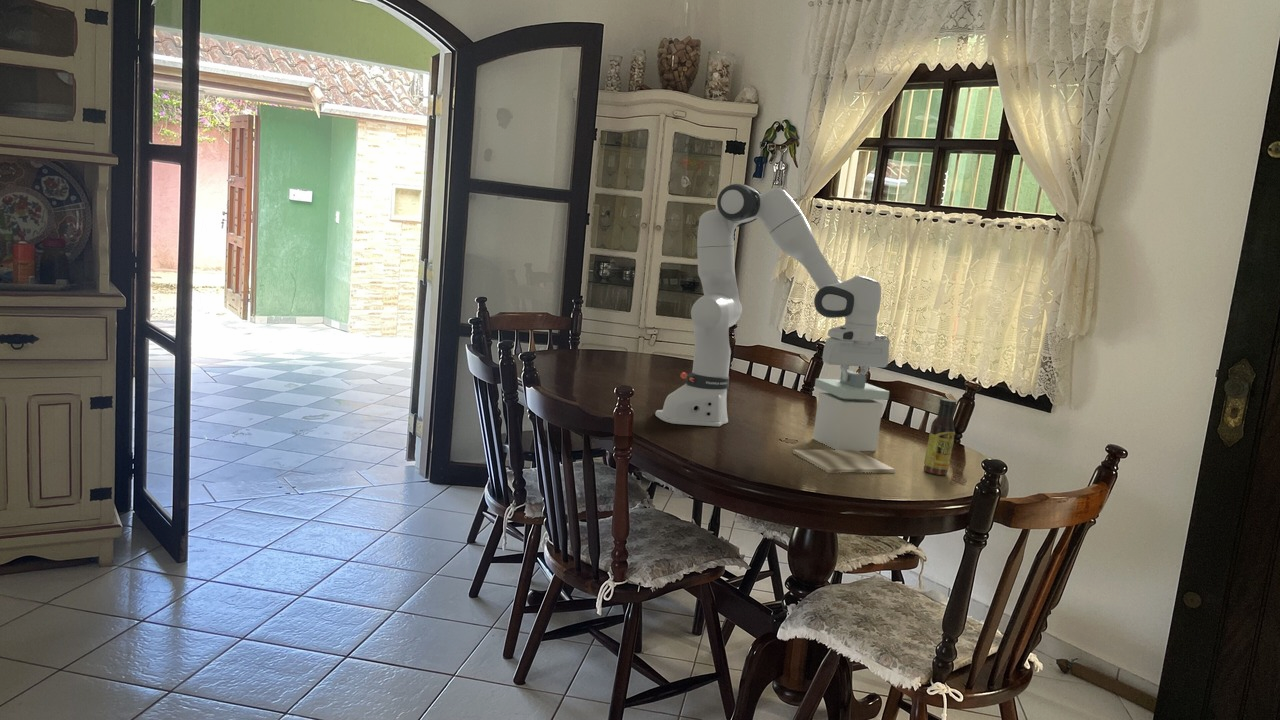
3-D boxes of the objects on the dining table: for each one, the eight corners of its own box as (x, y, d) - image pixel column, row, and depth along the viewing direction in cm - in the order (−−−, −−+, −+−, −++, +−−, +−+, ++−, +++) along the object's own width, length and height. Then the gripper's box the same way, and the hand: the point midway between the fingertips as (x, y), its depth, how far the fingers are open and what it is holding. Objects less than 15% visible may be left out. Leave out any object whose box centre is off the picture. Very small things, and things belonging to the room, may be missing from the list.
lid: (842, 398, 235) (845, 377, 234) (814, 386, 249) (817, 366, 248) (888, 400, 240) (891, 379, 239) (858, 388, 254) (861, 369, 253)
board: (828, 473, 214) (828, 469, 214) (793, 453, 231) (793, 449, 231) (894, 472, 221) (895, 469, 221) (855, 453, 238) (856, 450, 238)
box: (836, 450, 238) (843, 402, 236) (812, 438, 250) (819, 392, 248) (875, 451, 243) (883, 403, 241) (850, 439, 255) (857, 393, 253)
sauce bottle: (934, 476, 221) (946, 402, 218) (917, 469, 227) (929, 397, 224) (953, 476, 224) (965, 402, 221) (936, 468, 230) (948, 397, 226)
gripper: (883, 333, 248) (876, 380, 250) (823, 329, 241) (816, 377, 243) (896, 337, 242) (889, 384, 244) (835, 333, 235) (828, 382, 237)
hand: (852, 381), depth 244 cm, fingers closed on lid, 3 cm apart
